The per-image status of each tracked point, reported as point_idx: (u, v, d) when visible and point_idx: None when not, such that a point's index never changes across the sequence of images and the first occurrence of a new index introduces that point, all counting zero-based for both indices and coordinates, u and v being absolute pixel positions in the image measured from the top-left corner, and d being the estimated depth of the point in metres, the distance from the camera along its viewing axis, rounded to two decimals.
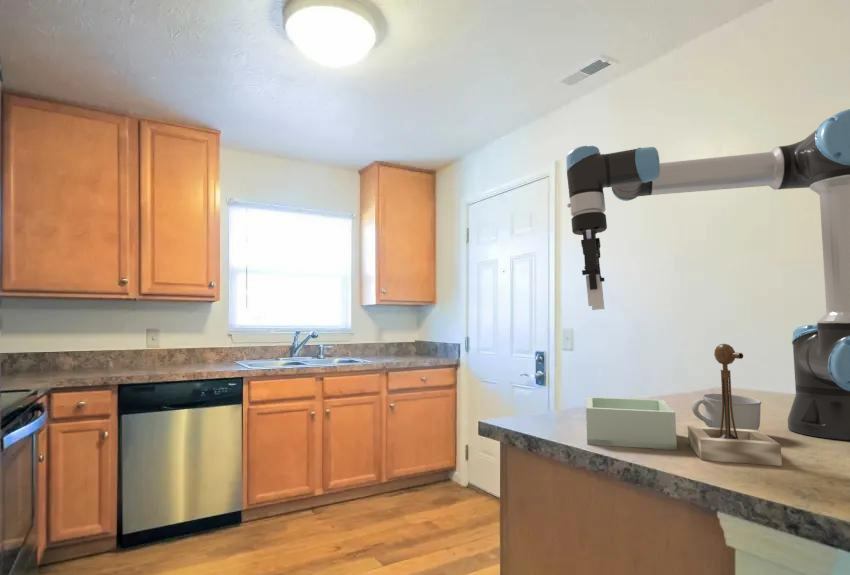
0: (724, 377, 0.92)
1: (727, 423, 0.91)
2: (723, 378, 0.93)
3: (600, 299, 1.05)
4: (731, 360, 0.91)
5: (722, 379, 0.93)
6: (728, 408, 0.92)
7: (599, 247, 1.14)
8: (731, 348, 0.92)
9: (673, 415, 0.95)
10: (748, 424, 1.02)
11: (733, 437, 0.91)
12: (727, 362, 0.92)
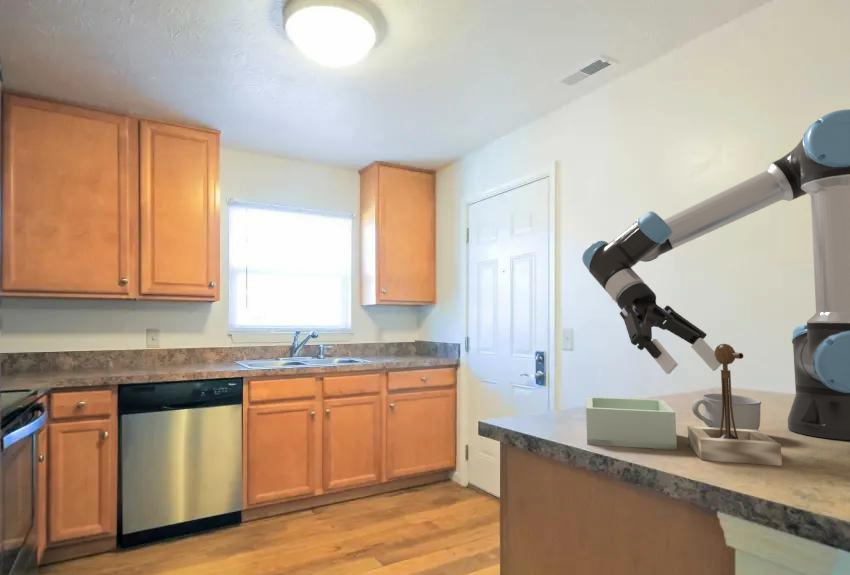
0: (724, 377, 0.92)
1: (727, 423, 0.91)
2: (723, 378, 0.93)
3: (670, 360, 0.94)
4: (731, 360, 0.91)
5: (722, 379, 0.93)
6: (728, 408, 0.92)
7: (661, 312, 1.06)
8: (731, 348, 0.92)
9: (673, 415, 0.95)
10: (748, 424, 1.02)
11: (733, 437, 0.91)
12: (727, 362, 0.92)
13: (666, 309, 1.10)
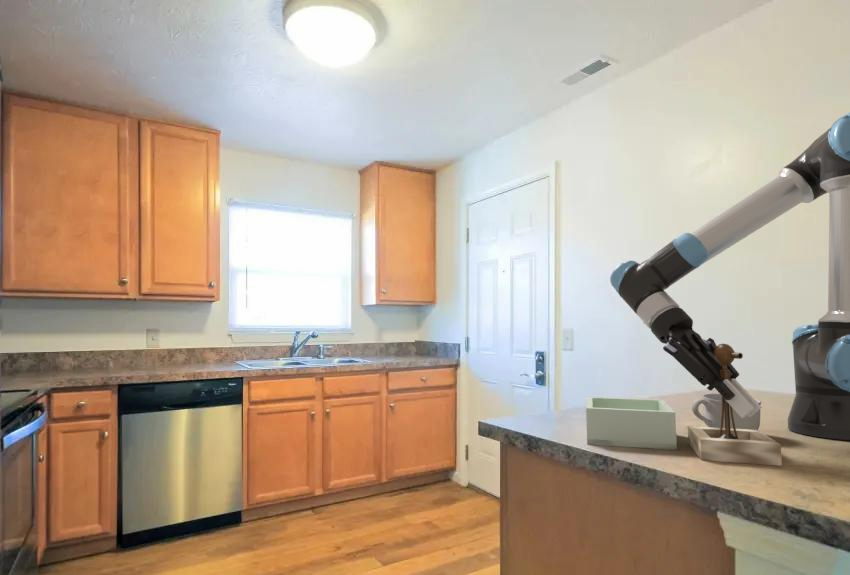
0: (724, 377, 0.92)
1: (727, 423, 0.91)
2: (723, 378, 0.93)
3: (746, 403, 0.88)
4: (730, 360, 0.91)
5: None
6: (728, 408, 0.92)
7: (697, 338, 0.99)
8: (730, 348, 0.92)
9: (673, 415, 0.95)
10: (748, 424, 1.02)
11: (733, 437, 0.91)
12: (726, 362, 0.92)
13: (707, 341, 1.01)
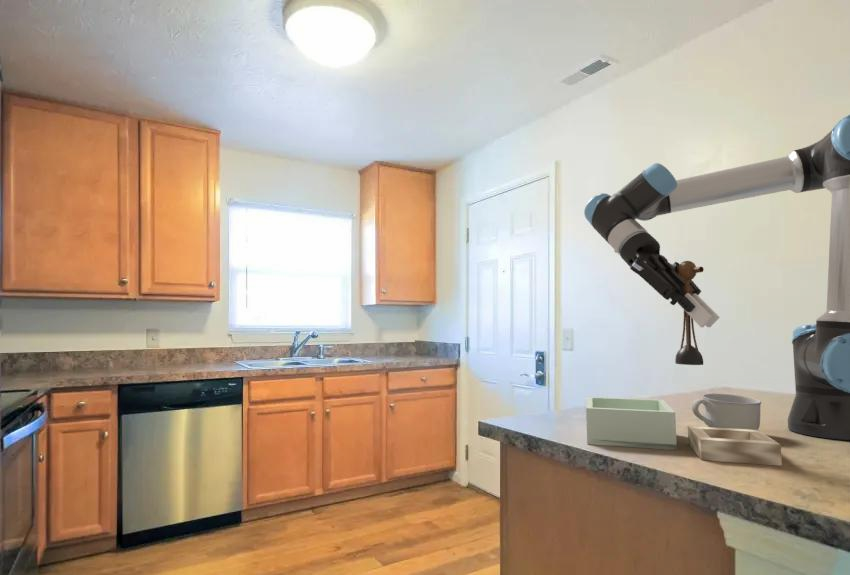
0: (686, 292, 0.97)
1: (688, 335, 0.96)
2: (685, 293, 0.97)
3: (705, 313, 0.93)
4: (692, 275, 0.96)
5: (684, 294, 0.97)
6: (689, 321, 0.97)
7: (662, 260, 1.03)
8: (693, 264, 0.96)
9: (673, 415, 0.95)
10: (748, 424, 1.02)
11: (693, 348, 0.96)
12: (689, 277, 0.96)
13: (673, 264, 1.06)
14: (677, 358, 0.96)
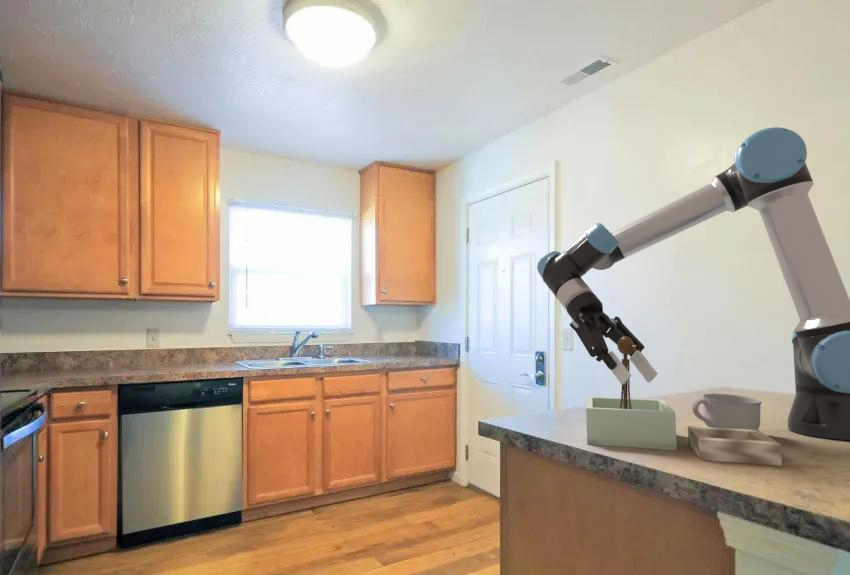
0: None
1: (624, 406, 1.04)
2: None
3: (624, 371, 1.00)
4: (630, 351, 1.03)
5: None
6: (626, 393, 1.04)
7: (605, 319, 1.12)
8: (630, 340, 1.03)
9: (673, 415, 0.95)
10: (748, 424, 1.02)
11: None
12: (626, 353, 1.03)
13: (614, 319, 1.15)
14: None
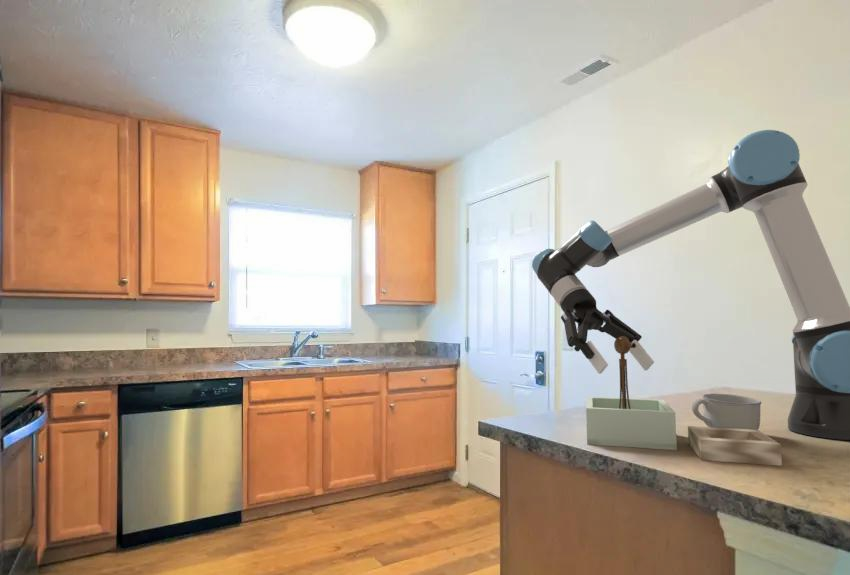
0: (621, 365, 1.06)
1: (623, 405, 1.04)
2: (621, 366, 1.06)
3: (601, 361, 1.01)
4: (626, 350, 1.05)
5: (620, 367, 1.06)
6: (624, 392, 1.05)
7: (599, 315, 1.13)
8: (627, 339, 1.06)
9: (673, 415, 0.95)
10: (748, 424, 1.02)
11: None
12: (623, 351, 1.05)
13: (606, 313, 1.17)
14: None
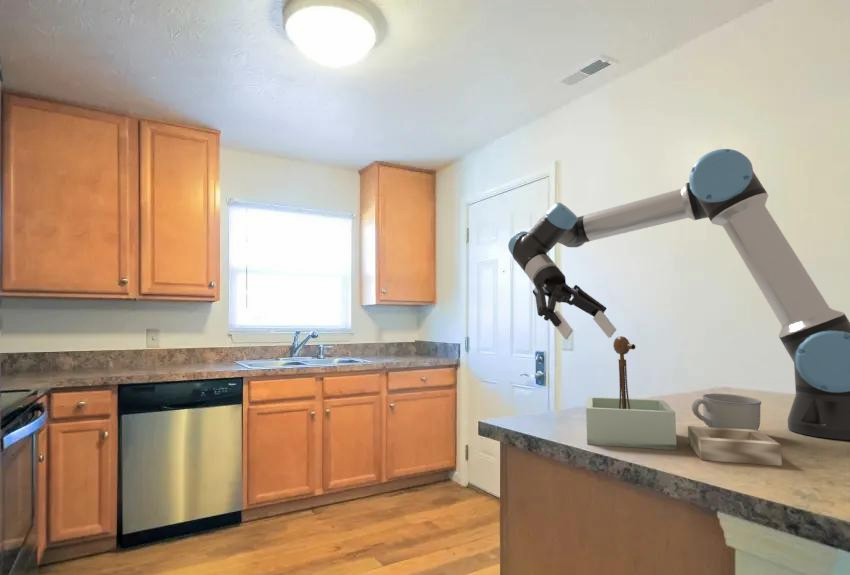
0: (621, 366, 1.05)
1: (623, 406, 1.04)
2: (620, 366, 1.05)
3: (567, 327, 1.13)
4: (626, 351, 1.04)
5: (619, 367, 1.05)
6: (624, 393, 1.05)
7: (568, 289, 1.25)
8: (626, 340, 1.04)
9: (673, 415, 0.95)
10: (748, 424, 1.02)
11: None
12: (623, 352, 1.04)
13: (574, 288, 1.28)
14: None
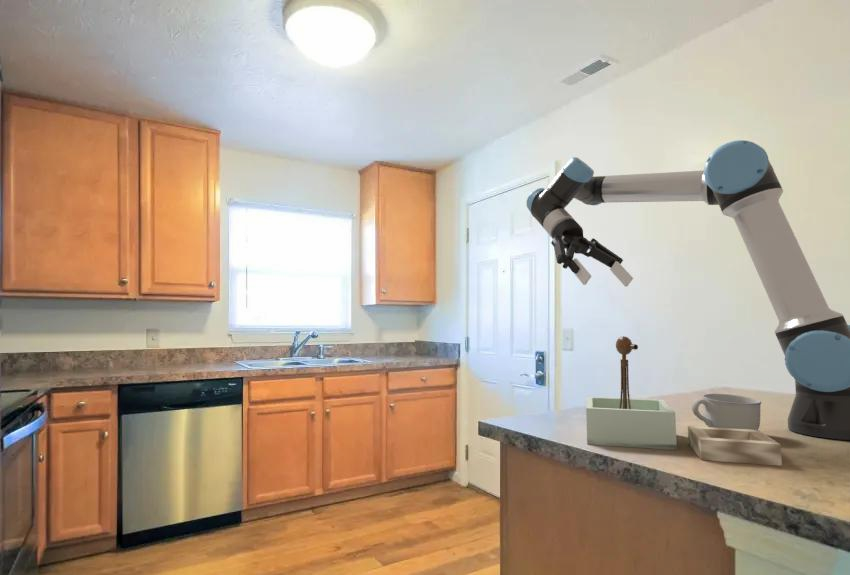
0: (623, 366, 1.05)
1: (624, 406, 1.04)
2: (622, 366, 1.05)
3: (586, 273, 1.16)
4: (628, 351, 1.04)
5: (621, 367, 1.06)
6: (625, 393, 1.05)
7: (585, 241, 1.28)
8: (629, 340, 1.04)
9: (673, 415, 0.95)
10: (748, 424, 1.02)
11: None
12: (625, 352, 1.04)
13: (592, 241, 1.32)
14: None
